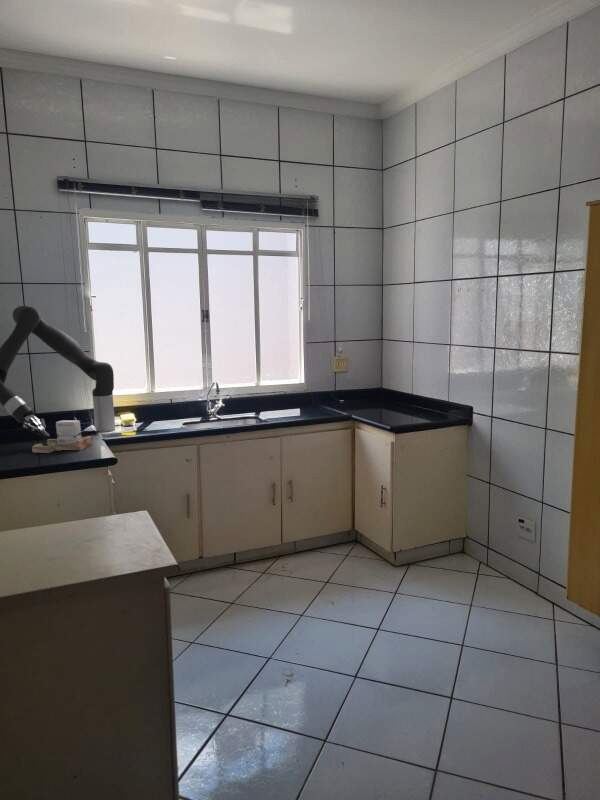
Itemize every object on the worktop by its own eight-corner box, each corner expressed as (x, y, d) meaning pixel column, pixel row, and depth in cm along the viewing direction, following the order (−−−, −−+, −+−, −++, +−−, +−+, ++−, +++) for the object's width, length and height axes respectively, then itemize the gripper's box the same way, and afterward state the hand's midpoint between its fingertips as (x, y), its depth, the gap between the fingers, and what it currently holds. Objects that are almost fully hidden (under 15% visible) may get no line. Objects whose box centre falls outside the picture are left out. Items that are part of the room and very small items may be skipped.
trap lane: (54, 442, 252) (53, 433, 251) (97, 443, 249) (96, 434, 248) (28, 452, 234) (27, 442, 233) (74, 453, 231) (73, 443, 230)
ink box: (82, 447, 242) (80, 419, 240) (76, 449, 237) (74, 422, 235) (64, 447, 243) (62, 419, 241) (57, 449, 238) (55, 421, 236)
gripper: (14, 405, 235) (44, 434, 234) (33, 400, 248) (61, 428, 247) (3, 417, 236) (33, 447, 236) (23, 412, 249) (51, 440, 249)
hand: (47, 437), depth 242 cm, fingers closed
